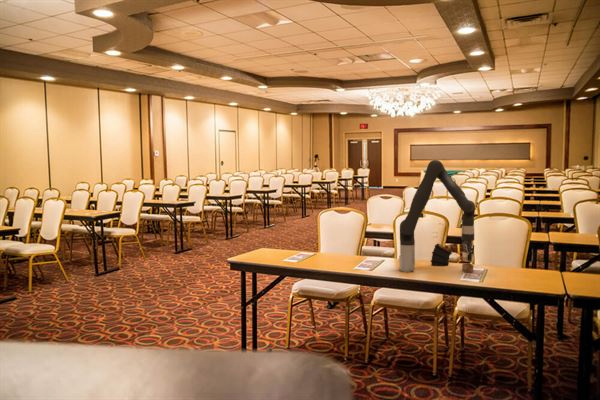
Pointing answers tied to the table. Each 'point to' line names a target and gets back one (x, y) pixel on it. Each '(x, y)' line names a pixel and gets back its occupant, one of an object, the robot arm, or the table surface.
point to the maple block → (466, 256)
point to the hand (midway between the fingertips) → (467, 259)
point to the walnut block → (467, 268)
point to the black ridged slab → (440, 256)
